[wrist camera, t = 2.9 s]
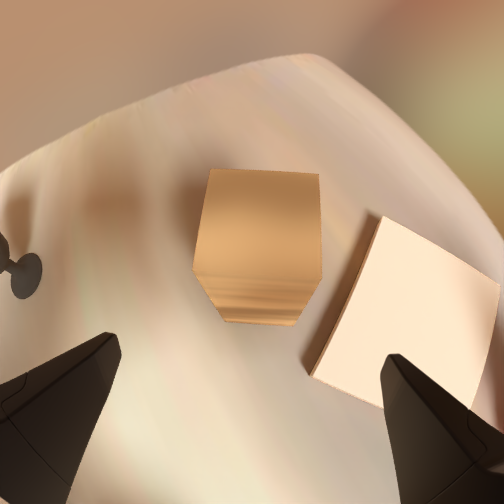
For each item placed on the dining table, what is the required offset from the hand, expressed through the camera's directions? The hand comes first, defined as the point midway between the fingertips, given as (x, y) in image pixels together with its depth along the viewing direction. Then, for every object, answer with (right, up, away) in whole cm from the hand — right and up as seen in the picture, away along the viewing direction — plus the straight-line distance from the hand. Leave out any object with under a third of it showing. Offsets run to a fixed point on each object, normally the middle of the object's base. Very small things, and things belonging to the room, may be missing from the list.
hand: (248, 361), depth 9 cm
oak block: (+1, 0, +14) cm, 14 cm away
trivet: (+14, -3, +12) cm, 18 cm away
